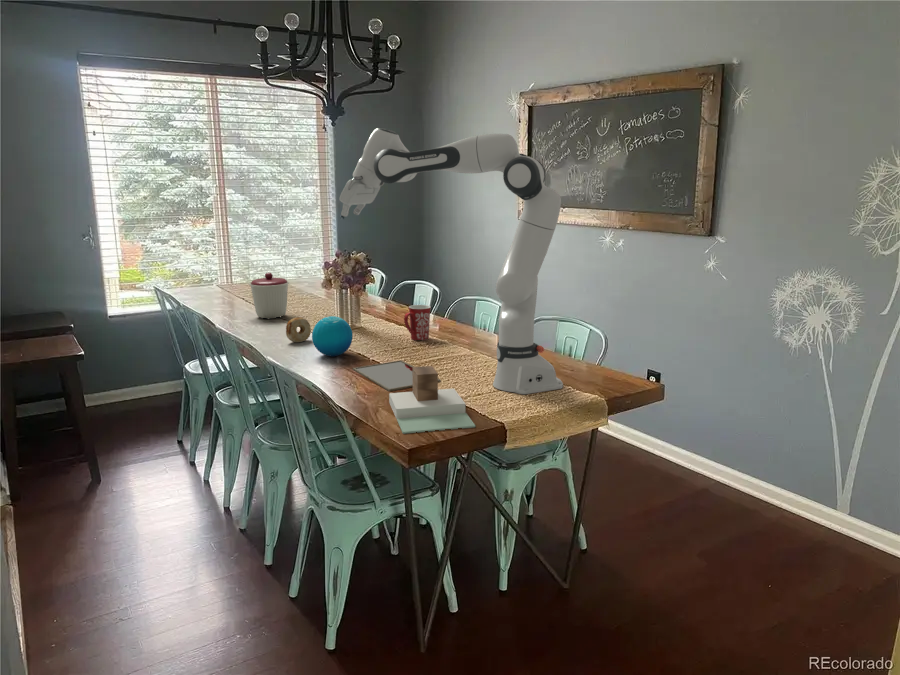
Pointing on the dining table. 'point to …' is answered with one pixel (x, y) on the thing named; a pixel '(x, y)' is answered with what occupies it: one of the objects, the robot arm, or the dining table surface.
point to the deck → (426, 404)
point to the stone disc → (292, 329)
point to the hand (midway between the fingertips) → (349, 214)
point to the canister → (270, 296)
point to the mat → (435, 423)
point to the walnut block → (425, 383)
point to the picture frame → (389, 374)
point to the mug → (418, 321)
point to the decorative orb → (332, 336)
